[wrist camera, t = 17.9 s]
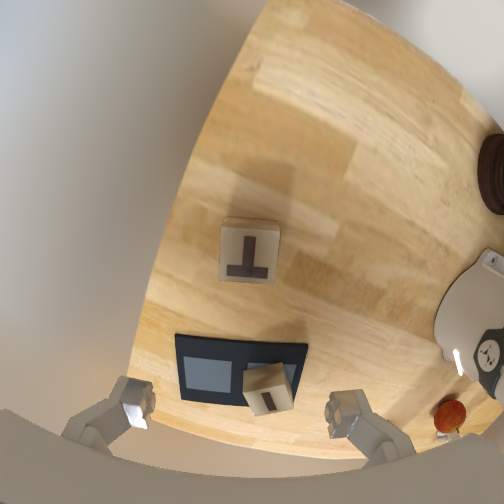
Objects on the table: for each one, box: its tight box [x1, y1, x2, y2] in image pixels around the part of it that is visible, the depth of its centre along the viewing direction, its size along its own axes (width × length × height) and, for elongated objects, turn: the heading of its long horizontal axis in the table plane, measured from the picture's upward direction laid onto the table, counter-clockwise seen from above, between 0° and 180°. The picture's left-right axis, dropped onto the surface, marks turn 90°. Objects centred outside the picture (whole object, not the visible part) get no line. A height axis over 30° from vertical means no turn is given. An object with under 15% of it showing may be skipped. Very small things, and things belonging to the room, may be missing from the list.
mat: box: [175, 334, 308, 407], centre depth 33 cm, size 16×12×1 cm
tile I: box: [243, 362, 294, 416], centre depth 31 cm, size 5×5×4 cm
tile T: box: [219, 217, 280, 285], centre depth 26 cm, size 5×5×4 cm
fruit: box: [434, 400, 466, 434], centre depth 34 cm, size 7×7×8 cm
